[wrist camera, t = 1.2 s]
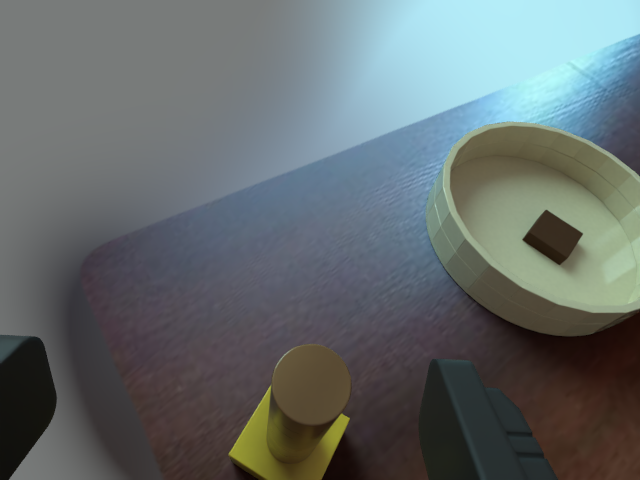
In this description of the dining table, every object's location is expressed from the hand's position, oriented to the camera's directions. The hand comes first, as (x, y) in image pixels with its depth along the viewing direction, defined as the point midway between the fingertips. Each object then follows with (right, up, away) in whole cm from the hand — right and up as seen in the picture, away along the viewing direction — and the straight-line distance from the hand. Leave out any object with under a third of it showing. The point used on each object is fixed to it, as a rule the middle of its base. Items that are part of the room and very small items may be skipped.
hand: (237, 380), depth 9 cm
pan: (+21, +3, +29) cm, 36 cm away
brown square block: (+22, +3, +28) cm, 36 cm away
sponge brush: (0, -10, +17) cm, 20 cm away
